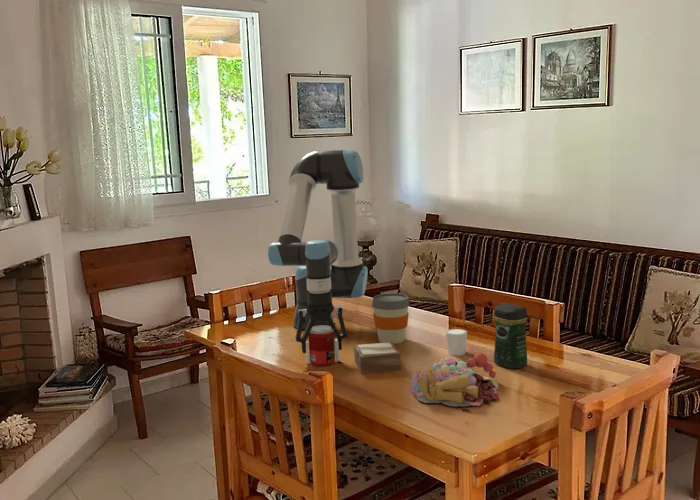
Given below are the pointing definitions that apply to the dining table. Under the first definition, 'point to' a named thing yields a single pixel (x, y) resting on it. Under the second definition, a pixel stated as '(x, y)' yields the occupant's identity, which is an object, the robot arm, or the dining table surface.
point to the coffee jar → (510, 335)
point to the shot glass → (456, 341)
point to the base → (377, 357)
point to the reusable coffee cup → (391, 316)
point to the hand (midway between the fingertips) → (322, 361)
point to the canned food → (321, 345)
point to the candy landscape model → (456, 383)
